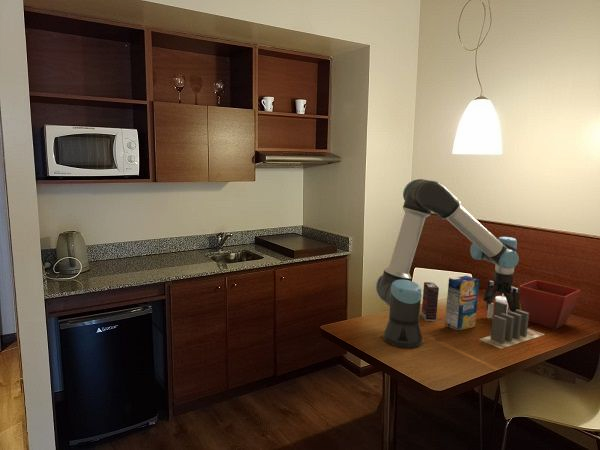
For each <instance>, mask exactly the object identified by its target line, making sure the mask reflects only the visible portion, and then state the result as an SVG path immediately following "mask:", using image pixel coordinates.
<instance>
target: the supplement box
mask: <svg viewBox="0 0 600 450" xmlns="http://www.w3.org/2000/svg"><path fill="white" fill-rule="evenodd" d="M422 291H423V292H422V300H421V301H422V304H421V306H422V307H421V313H420V315H421V316H422V318H423V319H424V321H426V322H437V312H438V303H439V301H438V300H439V291H440V288H439V286H438V285H437V284H436V283H435V282H430V281H429V282H428V281H427V282H426V281H424V282H423V290H422Z"/></svg>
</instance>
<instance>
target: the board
mask: <svg viewBox="0 0 600 450" xmlns="http://www.w3.org/2000/svg"><path fill="white" fill-rule="evenodd" d="M542 336H545V333H543V332H539V331H536V330H534V329H531V328H529V327H528V329H527V336H526V337H523V336H520V338H519V339H515V338H512V341H510V342H509V341H507V340H505V341H504V344H500V343H498V342H496V341H493V340H491V335H488V336H485V337H482V338H481V337H480V338H478V340H479V341H482V342H485V343H486V344H489V345H491V346H494V347H496V348H498V349H499V350H501V349H505V348H508V347H511V346H514V345H516V344H520V343H523V342H527V341H529V340H533V339H535V338H539V337H542Z"/></svg>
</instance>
